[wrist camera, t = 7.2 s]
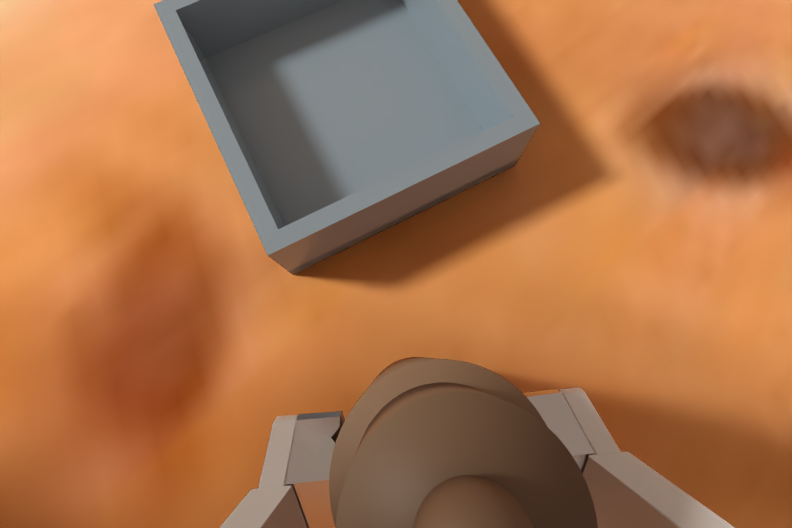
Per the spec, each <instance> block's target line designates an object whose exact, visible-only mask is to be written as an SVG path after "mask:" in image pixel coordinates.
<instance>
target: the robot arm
mask: <svg viewBox="0 0 792 528" xmlns="http://www.w3.org/2000/svg"><path fill="white" fill-rule="evenodd" d="M523 394H524V395H525V396H526V397H527V398H528V399H529V401H530V402H531V403H532V404H533V405H534V407H535V408H536V409H537V411H538V412H539V414H540V415H541V417H542V418H543V420H544V421H545V423H546V425H547V427H548V428H549V429H550V430H551V431H552V432H553V433H554V434H555V435H556V436H557V437H558V438H559V439H560V440H561V442H562V443H563V444H564V445H565V447H566V448H567V449H568V450H569V452H570V454H571V455H572V457H573V458H574V460H575V461H576V463H577V464H578V466H579V468H580V470H581V472H582V474H583V476H584V478H585V480H586V483H587V486H588V488H589V491H590V494H591V497H592V500H593V504H594V508H595V513H596V517H597V524H598V528H735V527H733V526H732V525H731V524H729V523H728V522H726V521H725V520H724V519H722V518H721V517H719V516H718V515H717V514H715V513H714V512H712V511H711V510H710V509H708V508H707V507H705V506H704V505H703V504H701V503H700V502H698V501H697V500H695V499H694V498H693V497H691V496H690V495H688V494H687V493H686V492H684V491H683V490H681V489H680V488H679V487H677V486H676V485H674V484H673V483H672V482H670V481H669V480H667V479H666V478H665V477H663V476H662V475H660V474H659V473H658V472H656V471H655V470H653V469H652V468H651V467H649V466H648V465H646V464H645V463H644V462H642V461H641V460H639V459H638V458H637V457H635V456H634V455H632V454H631V453H630V452H628V451H625V452H621V451H620V449H619V448H618V446H617V444H616V443H615V441H614V439H613V438H612V436H611V434H610V433H609V431H608V429H607V428H606V426H605V424H604V423H603V421H602V419H601V418H600V416H599V414H598V413H597V411H596V409H595V408H594V406H593V404H592V403H591V401H590V399H589V398H588V396H587V394H586V393H585V391H584V390H583V389H581V388H580V387H577V388H568V389H559V390H557V389H552V390H543V391H534V392H526V393H523ZM344 422H345V419H344V415H343V411H339V412H325V413H310V414H296V415H285V416H277V417H276V419H275V420H274V422H273V425H272V430H271V434H270V438H269V443H268V447H267V451H266V456H265V460H264V464H263V469H262V473H261V477H260V482H259V486H258V488H256V489H251V490H250V491H249V492H248V494H247V495H246V496H245V497H244V498H243V500H242V501H241V502H240V503H239V504H238V506H237V507H236V508H235V509H234V510H233V512H232V513H231V514H230V515H229V516H228V518H227V519H226V520H225V521H224V523H223V524H222V525H221V526H220V527H219V528H332V527H335V524H334V520H333V515H332V511H331V505H330V495H329V473H330V466H331V458H332V454H333V450H334V446H335V443H336V440H337V437H338V435H339V432H340V430H341V427H342V425H343V423H344Z"/></svg>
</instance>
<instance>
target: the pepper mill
mask: <svg viewBox="0 0 792 528" xmlns="http://www.w3.org/2000/svg"><path fill="white" fill-rule="evenodd" d="M329 495H330V505H331V511H332V515H333V520H334V524H335V527H336V528H598V524H597V517H596V513H595V508H594V504H593V500H592V497H591V494H590V491H589V488H588V486H587V483H586V480H585V478H584V476H583V474H582V472H581V470H580V468H579V466H578V464H577V463H576V461H575V460H574V458H573V457H572V455H571V454H570V452H569V450H568V449H567V448H566V447H565V445H564V444H563V443H562V442H561V440H560V439H559V438H558V437H557V436H556V435H555V434H554V433H553V432H552V431H551V430H550V429H549V428H548V427H547V425H546V423H545V421H544V420H543V418H542V417H541V415H540V414H539V412H538V411H537V409H536V408H535V407H534V405H533V404H532V403H531V402H530V401H529V399H528V398H527V397H526V396H525V395H524V394H523V393H522V392H521V391H520V390H519V389H518V388H516V387H515V386H514V385H513V384H511V383H510V382H509V381H507V380H506V379H505V378H503V377H501V376H500V375H498V374H496V373H494V372H492V371H491V370H488V369H486V368H483V367H481V366H478V365H475V364H472V363H468V362H464V361H456V360H448V359H435V358H423V357H411V358H405V359H401V360H399V361H396V362H394V363H392V364H391V365H389V366H388V367H386V368H385V369H384V370H383V371H382V372H381V373H380V374H379V375H378V376H377V377H376V379H375V380H374V381H373V382H372V384H371V385H370V386H369V387H368V389H367V390H366V391H365V393H364V394H363V395H362V396H361V398H360V399H359V400H358V401H357V403H356V404H355V406H354V407H353V408H352V410H351V411H350V413H349V414H348V416H347V418H346V420H345V422H344V423H343V425H342V427H341V430H340V432H339V435H338V437H337V440H336V443H335V446H334V450H333V454H332V458H331V466H330V473H329Z"/></svg>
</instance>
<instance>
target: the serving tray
mask: <svg viewBox="0 0 792 528" xmlns="http://www.w3.org/2000/svg"><path fill="white" fill-rule="evenodd" d="M154 7H155V9H156V11H157V13H158V15H159V18H160V20H161V22H162V24H163V26H164V29H165V31H166V33H167V35H168V37H169V40H170V42H171V44H172V46H173V48H174V51H175V53H176V55H177V57H178V59H179V62H180V64H181V66H182V68H183V70H184V73H185V75H186V77H187V79H188V81H189V84H190V86H191V88H192V90H193V92H194V95H195V97H196V99H197V101H198V103H199V106H200V108H201V110H202V112H203V114H204V117H205V119H206V121H207V123H208V125H209V128H210V130H211V132H212V134H213V136H214V139H215V141H216V143H217V145H218V147H219V150H220V152H221V154H222V156H223V158H224V161H225V163H226V165H227V167H228V169H229V172H230V174H231V176H232V178H233V180H234V183H235V185H236V187H237V189H238V191H239V194H240V196H241V198H242V200H243V202H244V205H245V207H246V209H247V211H248V213H249V216H250V218H251V220H252V222H253V224H254V227H255V229H256V231H257V233H258V235H259V238H260V240H261V242H262V244H263V246H264V249H265V251H266V253H267V255H268V256H269V257H270V258H272V259H273V260H274V261H276V262H277V263H278V264H279V265H281V266H282V267H283V268H285V269H286V270H287V271H289V272H290V273H291V274H293V275H294V274H296V273H298V272H300V271H302V270H304V269H306V268H308V267H310V266H312V265H314V264H316V263H318V262H320V261H322V260H324V259H326V258H328V257H330V256H332V255H334V254H336V253H338V252H340V251H342V250H344V249H346V248H349V247H351V246H353V245H355V244H357V243H359V242H361V241H363V240H365V239H367V238H369V237H371V236H373V235H375V234H377V233H379V232H381V231H383V230H385V229H387V228H389V227H391V226H393V225H395V224H397V223H399V222H401V221H403V220H405V219H407V218H409V217H411V216H413V215H415V214H417V213H420V212H422V211H424V210H426V209H428V208H430V207H432V206H434V205H436V204H438V203H440V202H442V201H444V200H446V199H448V198H450V197H452V196H454V195H456V194H458V193H460V192H462V191H464V190H466V189H468V188H470V187H472V186H474V185H476V184H478V183H480V182H482V181H484V180H486V179H488V178H491V177H493V176H495V175H497V174H499V173H501V172H503V171H505V170H507V169H509V168H511V167H513V166H515V164H516V163H517V161H518V159H519V158H520V156H521V154H522V153H523V151H524V149H525V148H526V146H527V144H528V143H529V141H530V140H531V138H532V136H533V135H534V133H535V131H536V130H537V128H538V126H539V125H540V122H539V121H538V119H537V118H536V116H535V115H534V113H533V112H532V110H531V109H530V108H529V106H528V105H527V103H526V102H525V100H524V99H523V97H522V96H521V94H520V93H519V91H518V90H517V88H516V87H515V85H514V84H513V82H512V81H511V79H510V78H509V76H508V75H507V73H506V72H505V71H504V69H503V68H502V66H501V65H500V63H499V62H498V60H497V59H496V57H495V56H494V54H493V53H492V51H491V50H490V48H489V47H488V45H487V44H486V42H485V41H484V39H483V38H482V36H481V35H480V33H479V32H478V31H477V29H476V28H475V26H474V25H473V23H472V22H471V20H470V19H469V17H468V16H467V14H466V13H465V11H464V10H463V8H462V7H461V5H460V4H459V2H458V1H457V0H163V1H161V2H158V3H156V4H154Z"/></svg>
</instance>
